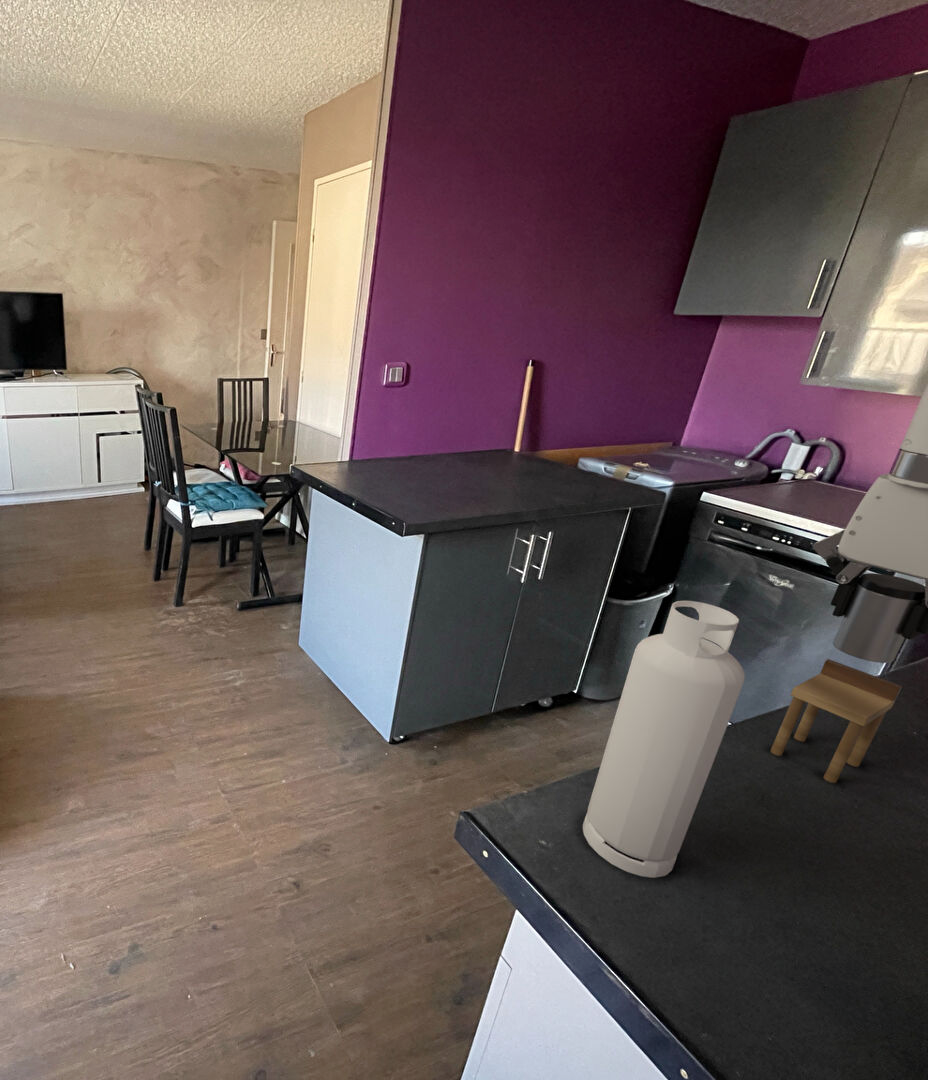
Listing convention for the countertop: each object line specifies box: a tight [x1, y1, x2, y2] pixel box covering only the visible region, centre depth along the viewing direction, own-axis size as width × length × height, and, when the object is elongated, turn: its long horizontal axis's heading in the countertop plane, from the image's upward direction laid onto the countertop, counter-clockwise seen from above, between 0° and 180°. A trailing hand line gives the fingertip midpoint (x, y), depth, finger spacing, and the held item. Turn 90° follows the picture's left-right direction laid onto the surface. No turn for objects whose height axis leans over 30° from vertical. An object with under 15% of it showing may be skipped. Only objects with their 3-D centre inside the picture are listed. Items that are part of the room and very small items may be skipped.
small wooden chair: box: [770, 658, 903, 784], centre depth 72 cm, size 8×7×12 cm
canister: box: [831, 572, 925, 664], centre depth 67 cm, size 5×5×9 cm
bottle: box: [582, 600, 746, 878], centre depth 57 cm, size 8×8×28 cm
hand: (875, 623), depth 67 cm, fingers closed on canister, 5 cm apart
